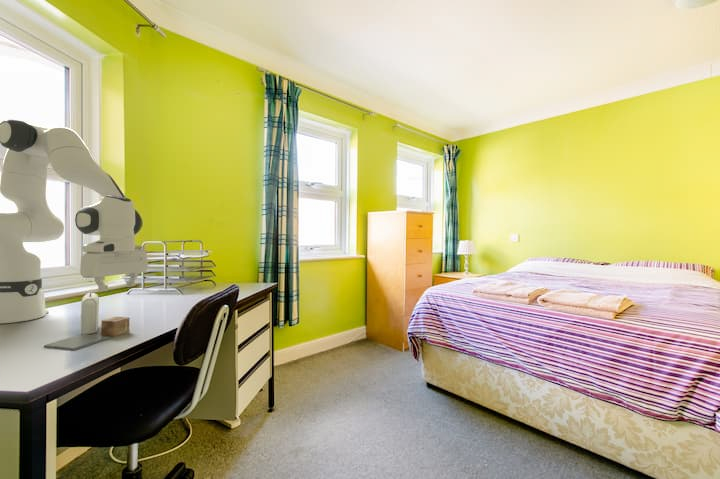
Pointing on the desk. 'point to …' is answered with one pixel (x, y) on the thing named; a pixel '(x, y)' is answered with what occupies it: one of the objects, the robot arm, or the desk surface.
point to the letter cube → (115, 326)
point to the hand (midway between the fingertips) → (117, 288)
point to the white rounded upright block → (89, 313)
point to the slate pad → (76, 342)
